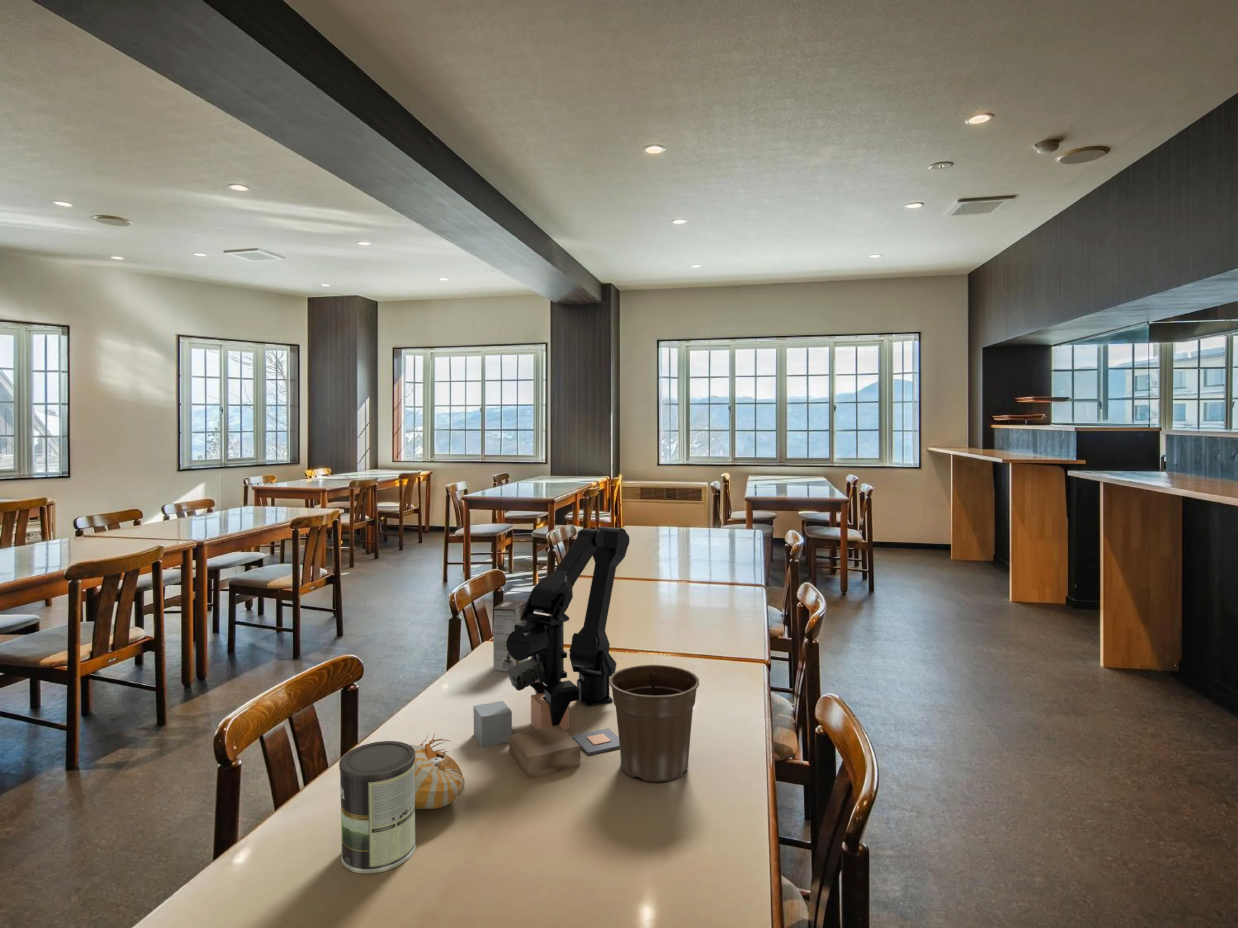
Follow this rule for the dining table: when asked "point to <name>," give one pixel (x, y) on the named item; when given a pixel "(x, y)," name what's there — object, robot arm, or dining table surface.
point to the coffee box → (505, 632)
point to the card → (597, 741)
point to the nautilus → (435, 777)
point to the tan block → (544, 751)
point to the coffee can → (377, 806)
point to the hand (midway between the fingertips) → (549, 721)
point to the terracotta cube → (544, 713)
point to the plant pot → (654, 719)
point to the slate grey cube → (492, 723)
